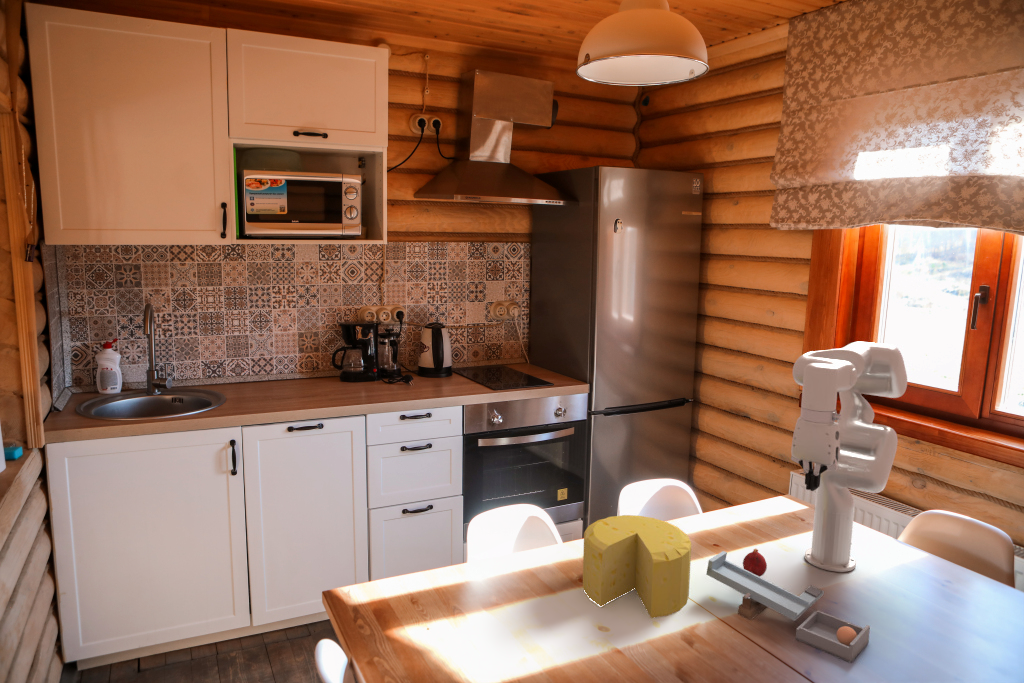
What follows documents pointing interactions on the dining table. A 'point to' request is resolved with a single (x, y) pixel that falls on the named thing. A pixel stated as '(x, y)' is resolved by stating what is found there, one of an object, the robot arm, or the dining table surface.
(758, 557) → the onion
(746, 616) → the fulcrum
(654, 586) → the cheese
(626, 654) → the dining table surface
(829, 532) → the robot arm
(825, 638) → the dish
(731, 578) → the lever
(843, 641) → the ball
